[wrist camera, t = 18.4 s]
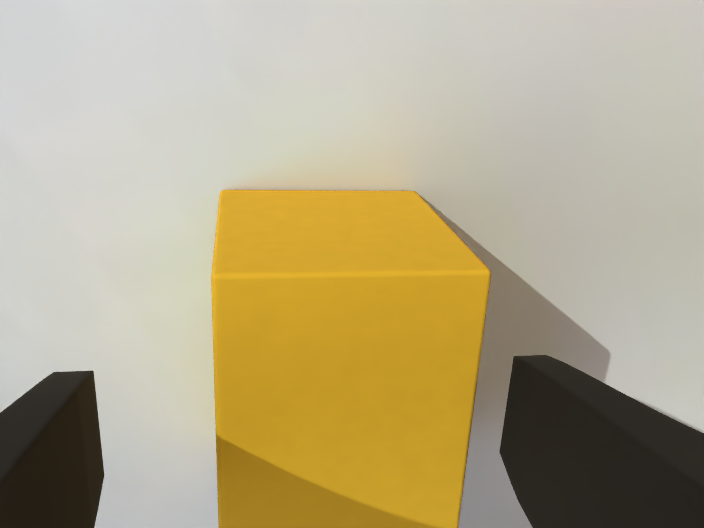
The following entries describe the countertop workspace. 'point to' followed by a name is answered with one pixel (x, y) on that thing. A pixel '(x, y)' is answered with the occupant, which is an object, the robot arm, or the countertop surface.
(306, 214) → the sponge
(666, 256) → the countertop surface
